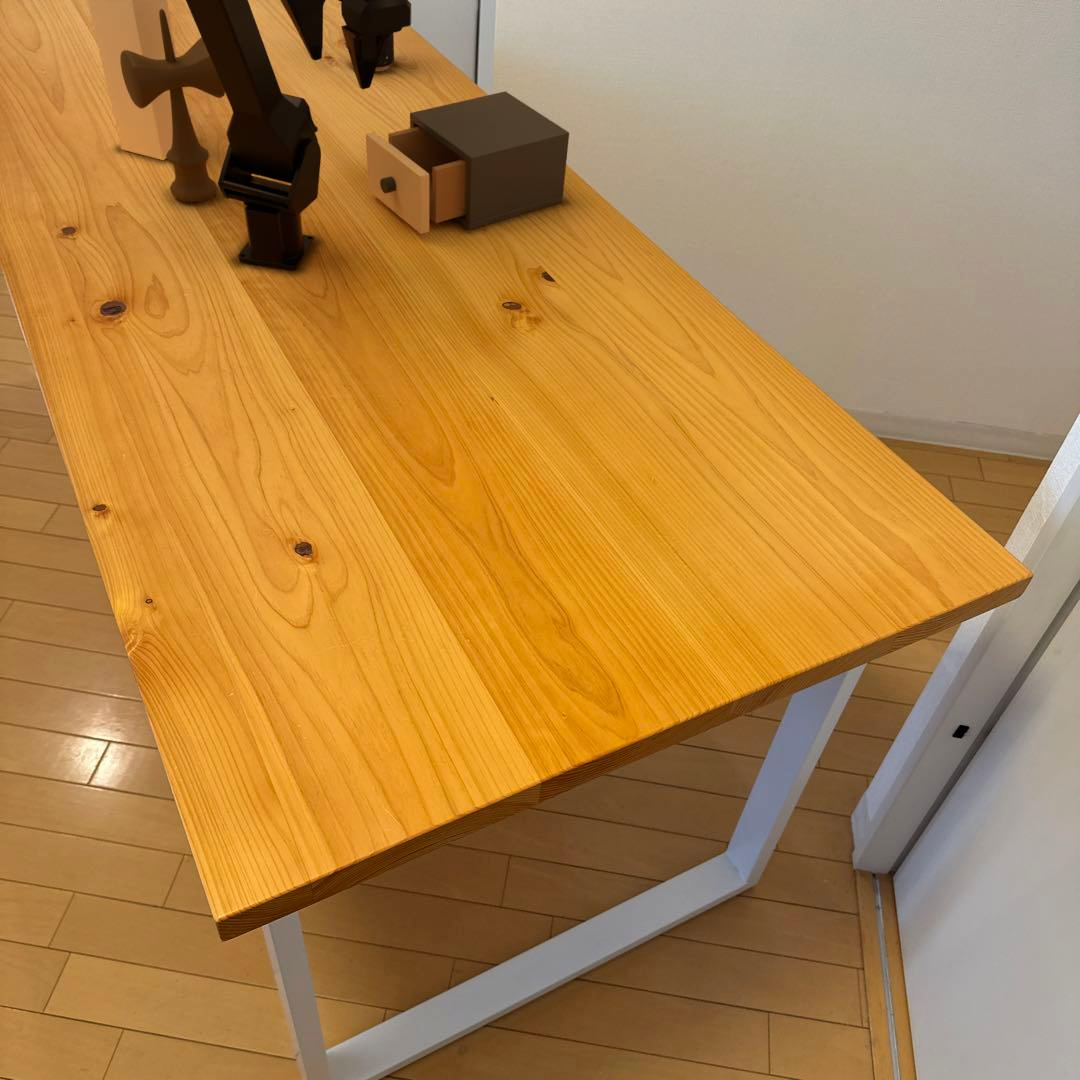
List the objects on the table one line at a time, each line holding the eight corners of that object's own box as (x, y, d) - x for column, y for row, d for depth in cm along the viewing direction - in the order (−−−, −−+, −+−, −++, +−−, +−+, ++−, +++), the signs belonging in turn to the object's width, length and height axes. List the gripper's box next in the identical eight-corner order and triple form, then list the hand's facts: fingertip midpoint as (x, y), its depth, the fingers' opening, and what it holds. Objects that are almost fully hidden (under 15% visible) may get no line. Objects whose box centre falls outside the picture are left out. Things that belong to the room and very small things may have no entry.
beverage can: (397, 60, 147) (395, -30, 138) (389, 75, 143) (387, -16, 134) (359, 55, 147) (355, -35, 138) (350, 70, 143) (345, -22, 134)
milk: (163, 161, 121) (123, -41, 105) (120, 149, 122) (74, -53, 106) (192, 141, 125) (158, -57, 109) (150, 130, 126) (110, -68, 110)
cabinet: (469, 230, 115) (471, 158, 109) (410, 183, 122) (409, 112, 116) (562, 202, 121) (569, 132, 115) (501, 159, 128) (505, 91, 122)
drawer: (411, 237, 111) (410, 178, 107) (359, 192, 117) (356, 135, 112) (511, 207, 118) (514, 151, 113) (456, 167, 124) (458, 112, 119)
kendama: (245, 197, 116) (219, 13, 102) (162, 215, 112) (123, 25, 98) (225, 175, 119) (197, -7, 105) (144, 191, 115) (103, 4, 101)
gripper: (454, -73, 99) (451, 88, 110) (345, -121, 108) (352, 33, 119) (361, -59, 93) (367, 110, 104) (253, -110, 102) (269, 50, 113)
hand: (340, 73), depth 110 cm, fingers open, 9 cm apart
